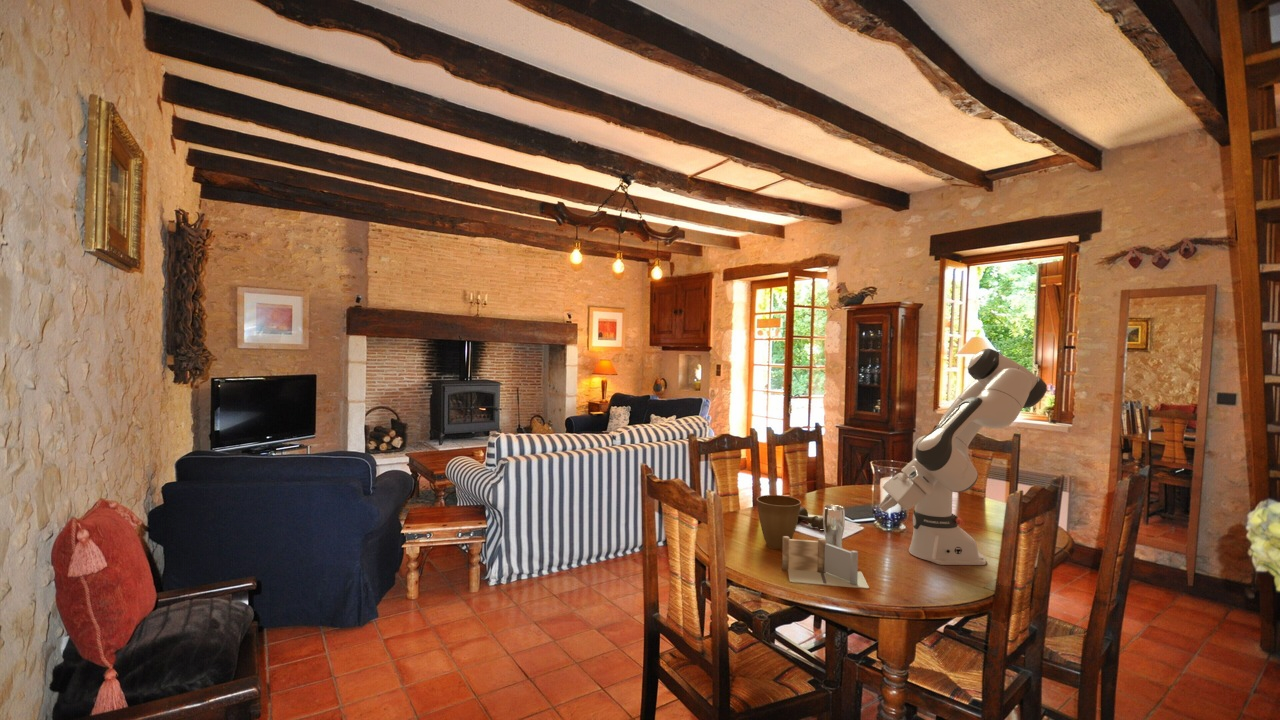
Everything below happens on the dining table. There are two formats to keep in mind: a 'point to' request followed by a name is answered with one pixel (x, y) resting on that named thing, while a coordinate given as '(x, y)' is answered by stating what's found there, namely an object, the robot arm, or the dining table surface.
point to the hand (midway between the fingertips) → (881, 508)
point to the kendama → (810, 518)
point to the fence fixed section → (803, 554)
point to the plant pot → (778, 518)
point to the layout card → (824, 579)
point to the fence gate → (841, 563)
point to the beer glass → (834, 524)
